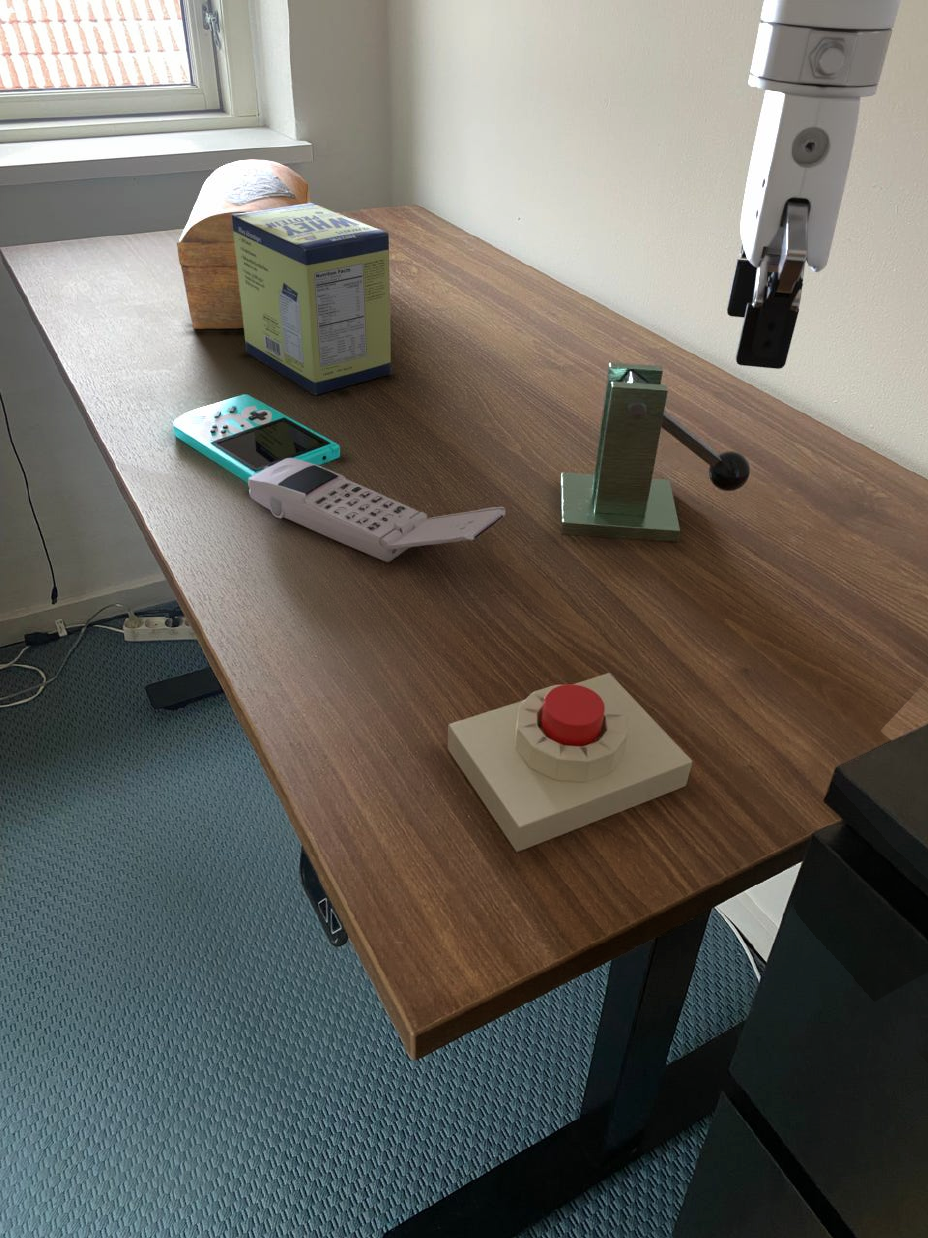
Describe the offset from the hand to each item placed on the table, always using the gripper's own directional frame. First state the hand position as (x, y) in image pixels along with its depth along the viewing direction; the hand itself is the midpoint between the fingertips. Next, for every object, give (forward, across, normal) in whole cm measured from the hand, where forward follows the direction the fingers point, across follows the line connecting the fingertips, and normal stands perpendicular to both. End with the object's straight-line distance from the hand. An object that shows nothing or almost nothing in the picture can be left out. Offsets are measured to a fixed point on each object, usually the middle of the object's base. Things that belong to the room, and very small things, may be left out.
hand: (753, 339), depth 66 cm
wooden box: (+19, +55, +58) cm, 82 cm away
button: (+15, -26, +9) cm, 32 cm away
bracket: (+19, +6, +7) cm, 21 cm away
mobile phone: (+19, -2, +29) cm, 34 cm away
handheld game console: (+19, +12, +43) cm, 49 cm away
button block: (+19, -26, +10) cm, 33 cm away
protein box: (+19, +32, +43) cm, 57 cm away
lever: (+12, +7, +4) cm, 14 cm away
